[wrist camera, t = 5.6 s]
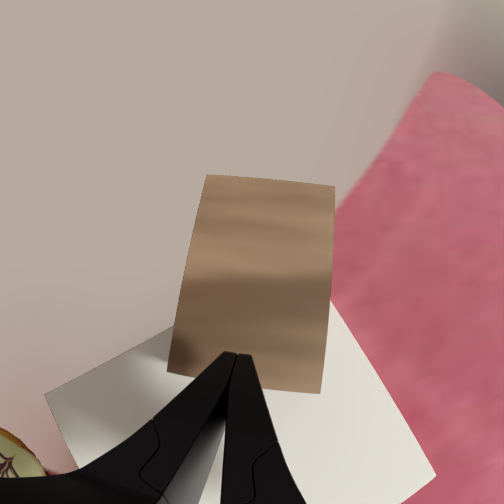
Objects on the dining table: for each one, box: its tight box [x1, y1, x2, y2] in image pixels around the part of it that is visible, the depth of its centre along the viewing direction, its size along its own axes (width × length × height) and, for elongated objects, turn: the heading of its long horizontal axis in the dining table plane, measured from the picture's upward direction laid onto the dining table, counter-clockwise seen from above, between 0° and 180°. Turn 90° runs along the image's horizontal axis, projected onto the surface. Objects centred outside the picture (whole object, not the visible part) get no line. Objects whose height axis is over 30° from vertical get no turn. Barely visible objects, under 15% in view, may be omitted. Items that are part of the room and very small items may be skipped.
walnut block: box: [166, 174, 335, 394], centre depth 14 cm, size 4×6×9 cm
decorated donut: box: [0, 428, 47, 478], centre depth 11 cm, size 10×11×4 cm
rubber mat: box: [45, 301, 436, 504], centre depth 13 cm, size 16×18×1 cm
